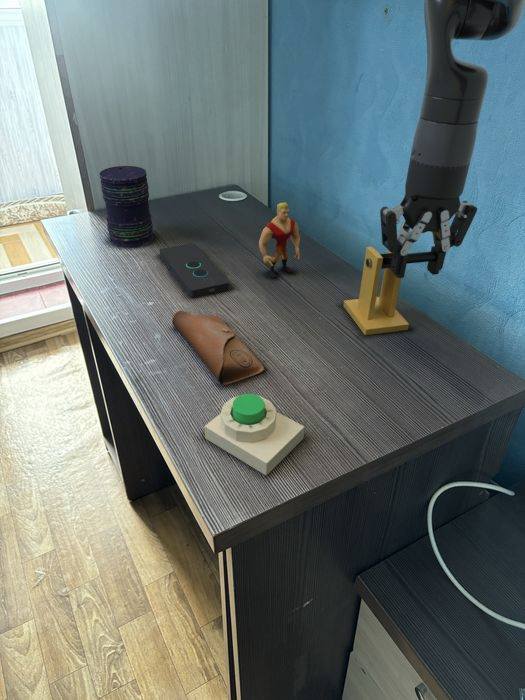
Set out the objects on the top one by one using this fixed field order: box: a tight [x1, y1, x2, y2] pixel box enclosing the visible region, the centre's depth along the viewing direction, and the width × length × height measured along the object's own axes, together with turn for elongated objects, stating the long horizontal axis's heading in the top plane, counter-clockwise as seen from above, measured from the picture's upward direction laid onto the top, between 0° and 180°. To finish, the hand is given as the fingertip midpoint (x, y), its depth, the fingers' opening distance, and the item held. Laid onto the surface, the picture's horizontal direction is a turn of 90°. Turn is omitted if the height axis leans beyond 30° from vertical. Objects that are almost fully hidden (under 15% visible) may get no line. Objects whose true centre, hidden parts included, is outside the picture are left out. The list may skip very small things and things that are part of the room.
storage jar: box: [99, 165, 154, 249], centre depth 113 cm, size 10×10×15 cm
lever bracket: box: [343, 246, 410, 336], centre depth 89 cm, size 10×8×13 cm
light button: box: [233, 393, 265, 425], centre depth 65 cm, size 4×4×2 cm
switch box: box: [204, 395, 305, 476], centre depth 66 cm, size 10×8×4 cm
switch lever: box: [379, 250, 437, 270], centre depth 81 cm, size 13×5×2 cm, turn 15°
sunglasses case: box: [171, 310, 265, 386], centre depth 82 cm, size 18×7×7 cm, turn 31°
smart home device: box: [159, 242, 230, 299], centre depth 105 cm, size 8×2×20 cm
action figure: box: [258, 201, 301, 279], centre depth 101 cm, size 10×4×15 cm, turn 123°
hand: (415, 273), depth 77 cm, fingers closed on switch lever, 5 cm apart
